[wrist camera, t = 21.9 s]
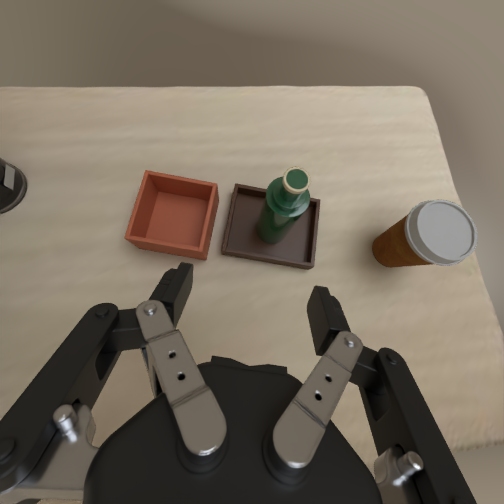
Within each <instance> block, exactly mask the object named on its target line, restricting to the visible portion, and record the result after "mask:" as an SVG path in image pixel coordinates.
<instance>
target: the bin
mask: <svg viewBox="0 0 504 504" xmlns="http://www.w3.org/2000/svg"><path fill="white" fill-rule="evenodd" d="M218 203H219V196H218V187H217V184H216V183H210V182H205V181H200V180H195V179H189V178H184V177H179V176H174V175H168V174H163V173H158V172H153V171H147V170H145V173H144V177H143V180H142V183H141V186H140V189H139V193H138V196H137V199H136V202H135V206H134V209H133V212H132V215H131V218H130V222H129V225H128V228H127V231H126V235H125V239H126V240H128V241H129V242H131V243H132V244H134V245H135V246H137V247H138V248H140V249H145V250H151V251H157V252H163V253H168V254H174V255H180V256H186V257H191V258H197V259H203V260H206V259H207V254H208V250H209V245H210V240H211V236H212V231H213V226H214V222H215V217H216V212H217V208H218Z"/></svg>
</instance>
